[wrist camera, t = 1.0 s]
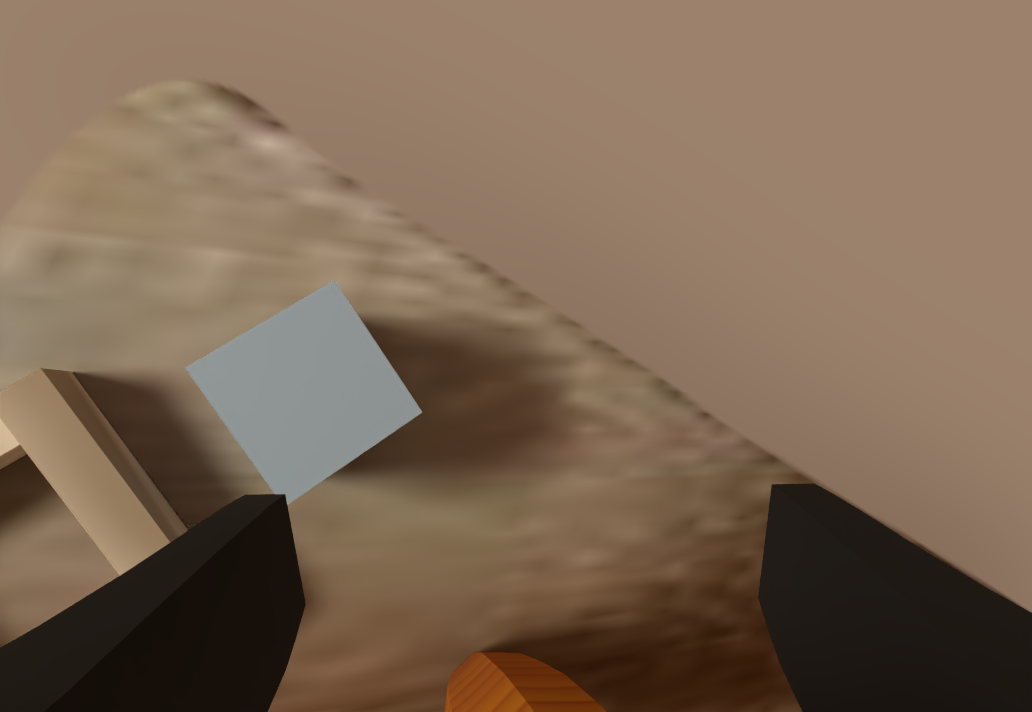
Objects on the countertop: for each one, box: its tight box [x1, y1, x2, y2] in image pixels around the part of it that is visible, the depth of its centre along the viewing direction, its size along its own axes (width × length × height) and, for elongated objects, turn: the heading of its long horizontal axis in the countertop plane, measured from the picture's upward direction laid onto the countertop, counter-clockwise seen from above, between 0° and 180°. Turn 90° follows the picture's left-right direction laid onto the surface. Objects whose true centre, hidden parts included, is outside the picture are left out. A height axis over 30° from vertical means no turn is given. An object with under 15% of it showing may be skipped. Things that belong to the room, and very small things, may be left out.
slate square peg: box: [185, 280, 422, 505], centre depth 19 cm, size 4×4×7 cm
